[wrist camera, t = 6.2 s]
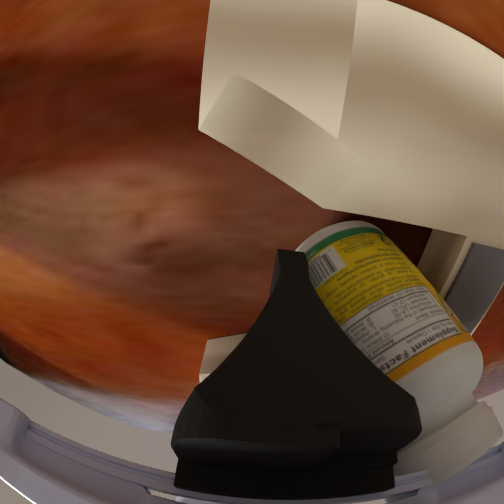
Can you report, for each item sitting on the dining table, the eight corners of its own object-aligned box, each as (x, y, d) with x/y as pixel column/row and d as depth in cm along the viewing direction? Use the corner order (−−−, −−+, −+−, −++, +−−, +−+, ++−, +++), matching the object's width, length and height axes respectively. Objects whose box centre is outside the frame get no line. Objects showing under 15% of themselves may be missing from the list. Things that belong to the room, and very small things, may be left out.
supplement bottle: (273, 230, 11) (401, 512, 3) (395, 206, 11) (553, 390, 4) (280, 324, 14) (350, 516, 6) (377, 296, 14) (469, 452, 7)
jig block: (390, 393, 19) (396, 422, 17) (208, 383, 19) (201, 415, 17) (529, 97, 7) (566, 109, 5) (228, -5, 7) (213, -29, 5)
